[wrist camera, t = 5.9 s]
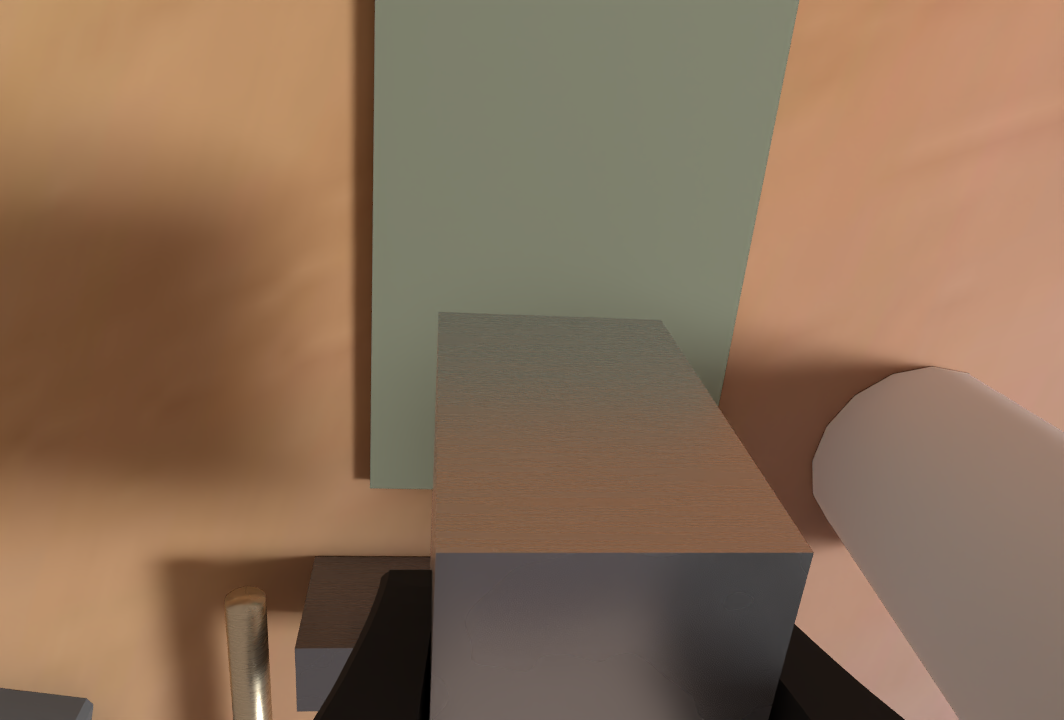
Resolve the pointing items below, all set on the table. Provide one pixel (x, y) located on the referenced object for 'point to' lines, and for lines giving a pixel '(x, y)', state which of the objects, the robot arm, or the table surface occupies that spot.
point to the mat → (561, 178)
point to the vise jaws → (305, 631)
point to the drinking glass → (957, 533)
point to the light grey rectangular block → (598, 531)
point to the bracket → (42, 706)
